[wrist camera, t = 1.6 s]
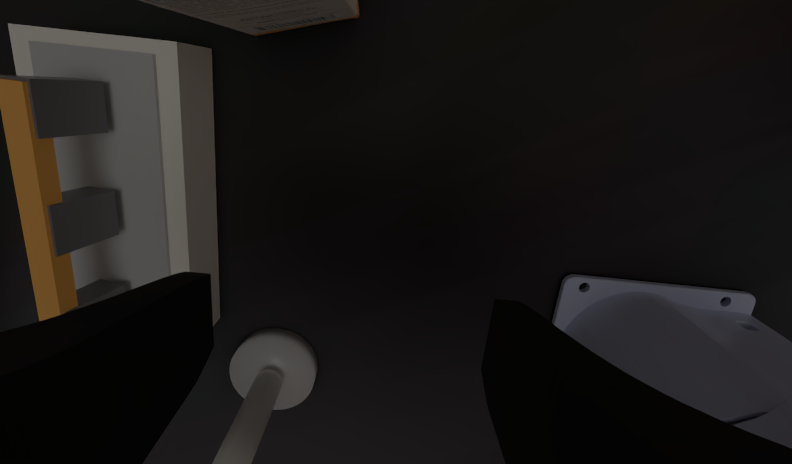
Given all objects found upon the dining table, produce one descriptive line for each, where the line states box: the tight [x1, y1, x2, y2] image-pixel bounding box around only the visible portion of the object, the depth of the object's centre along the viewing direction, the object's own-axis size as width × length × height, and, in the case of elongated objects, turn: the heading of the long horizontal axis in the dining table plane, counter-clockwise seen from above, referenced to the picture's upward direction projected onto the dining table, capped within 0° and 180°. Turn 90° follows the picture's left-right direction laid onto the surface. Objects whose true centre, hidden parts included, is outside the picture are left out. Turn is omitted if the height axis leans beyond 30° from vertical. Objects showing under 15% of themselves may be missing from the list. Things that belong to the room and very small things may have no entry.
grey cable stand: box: [212, 328, 318, 464], centre depth 18 cm, size 4×4×11 cm
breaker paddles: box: [0, 75, 126, 321], centre depth 16 cm, size 1×10×3 cm, turn 174°
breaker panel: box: [8, 24, 220, 326], centre depth 19 cm, size 6×13×3 cm, turn 174°
